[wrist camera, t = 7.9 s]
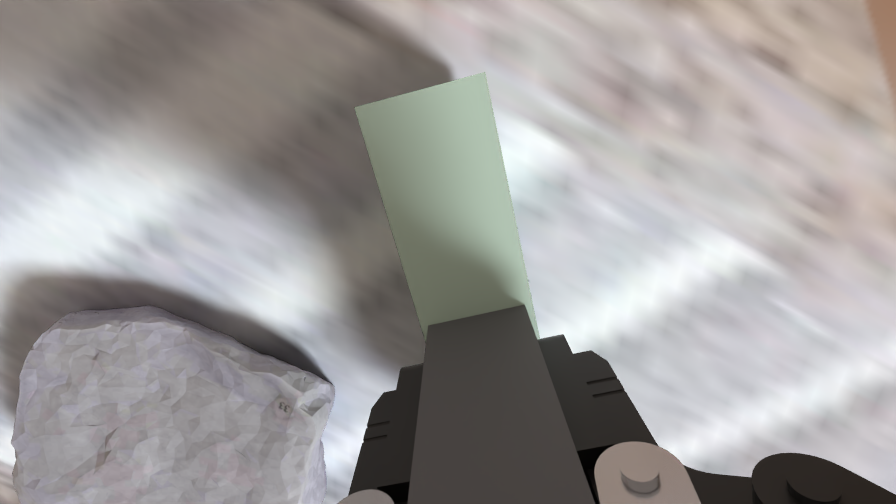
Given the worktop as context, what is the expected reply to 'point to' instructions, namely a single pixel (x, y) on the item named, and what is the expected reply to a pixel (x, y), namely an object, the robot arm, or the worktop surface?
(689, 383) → the worktop surface
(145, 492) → the stone block
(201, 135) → the worktop surface
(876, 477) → the worktop surface
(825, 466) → the robot arm
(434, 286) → the board
